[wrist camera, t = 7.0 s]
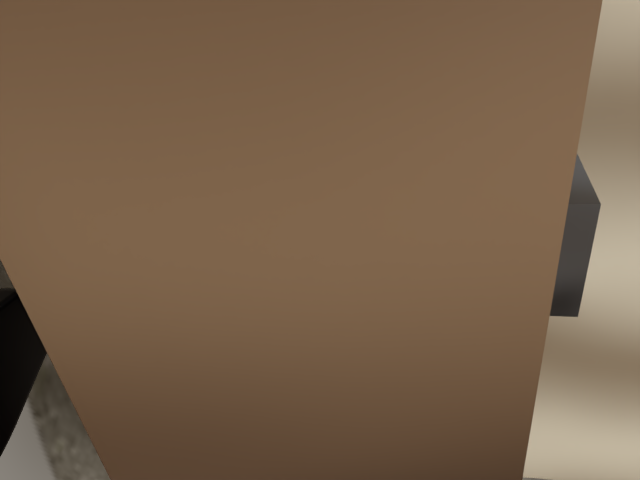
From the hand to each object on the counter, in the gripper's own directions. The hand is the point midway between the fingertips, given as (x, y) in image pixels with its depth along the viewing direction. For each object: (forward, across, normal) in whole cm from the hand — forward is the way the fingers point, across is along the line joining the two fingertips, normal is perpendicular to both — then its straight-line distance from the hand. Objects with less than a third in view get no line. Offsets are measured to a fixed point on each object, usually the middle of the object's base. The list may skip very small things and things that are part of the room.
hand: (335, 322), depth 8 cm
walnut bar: (+1, 0, 0) cm, 1 cm away
